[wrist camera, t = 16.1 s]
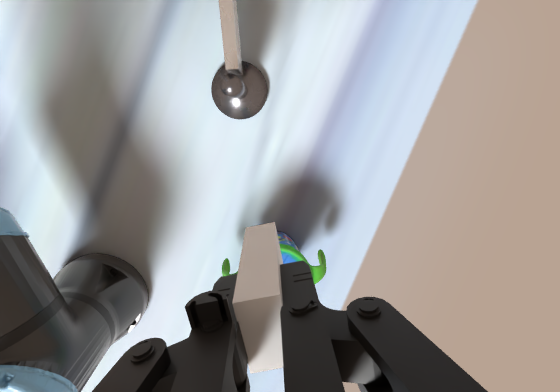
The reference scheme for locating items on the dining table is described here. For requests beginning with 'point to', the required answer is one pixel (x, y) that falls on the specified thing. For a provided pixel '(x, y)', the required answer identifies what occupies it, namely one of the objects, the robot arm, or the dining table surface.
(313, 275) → the snack cup
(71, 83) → the dining table surface
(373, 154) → the dining table surface
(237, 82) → the panel post
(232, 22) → the swing panel
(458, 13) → the dining table surface
